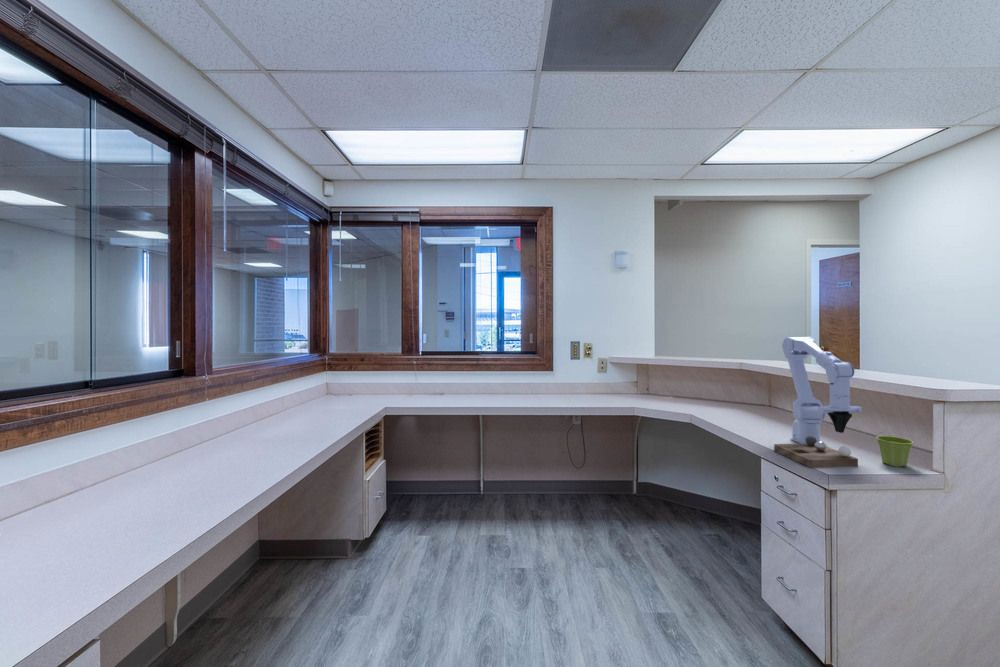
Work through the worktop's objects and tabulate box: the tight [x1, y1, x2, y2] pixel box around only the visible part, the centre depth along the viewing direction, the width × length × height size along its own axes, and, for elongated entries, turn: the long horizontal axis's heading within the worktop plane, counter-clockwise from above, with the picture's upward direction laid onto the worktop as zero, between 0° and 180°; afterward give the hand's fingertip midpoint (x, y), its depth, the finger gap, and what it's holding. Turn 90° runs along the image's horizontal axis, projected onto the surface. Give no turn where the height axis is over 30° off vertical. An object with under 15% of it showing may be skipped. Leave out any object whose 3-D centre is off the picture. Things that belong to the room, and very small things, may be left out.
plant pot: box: [875, 435, 914, 467], centre depth 143 cm, size 9×9×9 cm
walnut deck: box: [773, 443, 859, 468], centre depth 151 cm, size 18×17×2 cm
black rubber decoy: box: [806, 436, 817, 446], centre depth 158 cm, size 4×4×4 cm
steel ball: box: [814, 440, 827, 451], centre depth 151 cm, size 4×4×4 cm
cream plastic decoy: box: [837, 446, 852, 457], centre depth 145 cm, size 4×4×4 cm
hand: (839, 431), depth 151 cm, fingers closed
